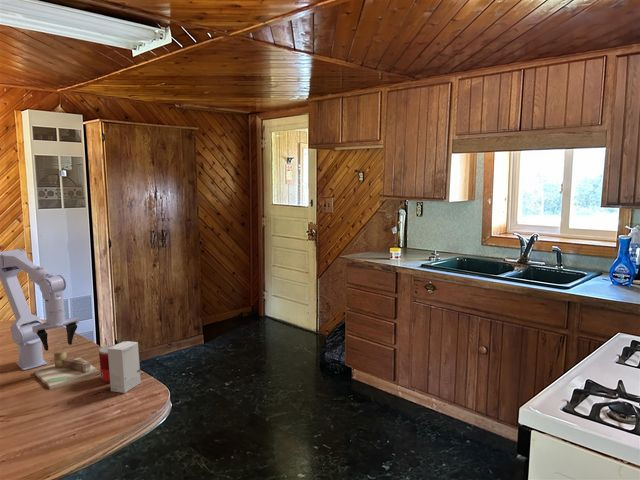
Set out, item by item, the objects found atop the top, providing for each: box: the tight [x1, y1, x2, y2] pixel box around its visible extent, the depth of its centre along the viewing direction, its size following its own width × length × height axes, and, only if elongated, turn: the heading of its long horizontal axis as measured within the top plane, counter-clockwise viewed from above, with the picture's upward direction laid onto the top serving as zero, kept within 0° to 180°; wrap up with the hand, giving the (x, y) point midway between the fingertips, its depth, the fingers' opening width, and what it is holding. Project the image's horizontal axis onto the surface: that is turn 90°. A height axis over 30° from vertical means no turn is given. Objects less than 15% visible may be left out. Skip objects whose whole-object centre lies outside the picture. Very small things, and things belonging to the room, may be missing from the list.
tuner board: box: [33, 356, 101, 390], centre depth 167 cm, size 18×16×1 cm
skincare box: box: [108, 340, 142, 394], centre depth 155 cm, size 8×6×15 cm
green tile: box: [50, 376, 67, 382], centre depth 160 cm, size 5×3×1 cm, turn 114°
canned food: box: [98, 343, 117, 384], centre depth 162 cm, size 8×8×11 cm
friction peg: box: [53, 349, 91, 372], centre depth 168 cm, size 15×4×5 cm, turn 68°
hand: (58, 346), depth 166 cm, fingers open, 7 cm apart
